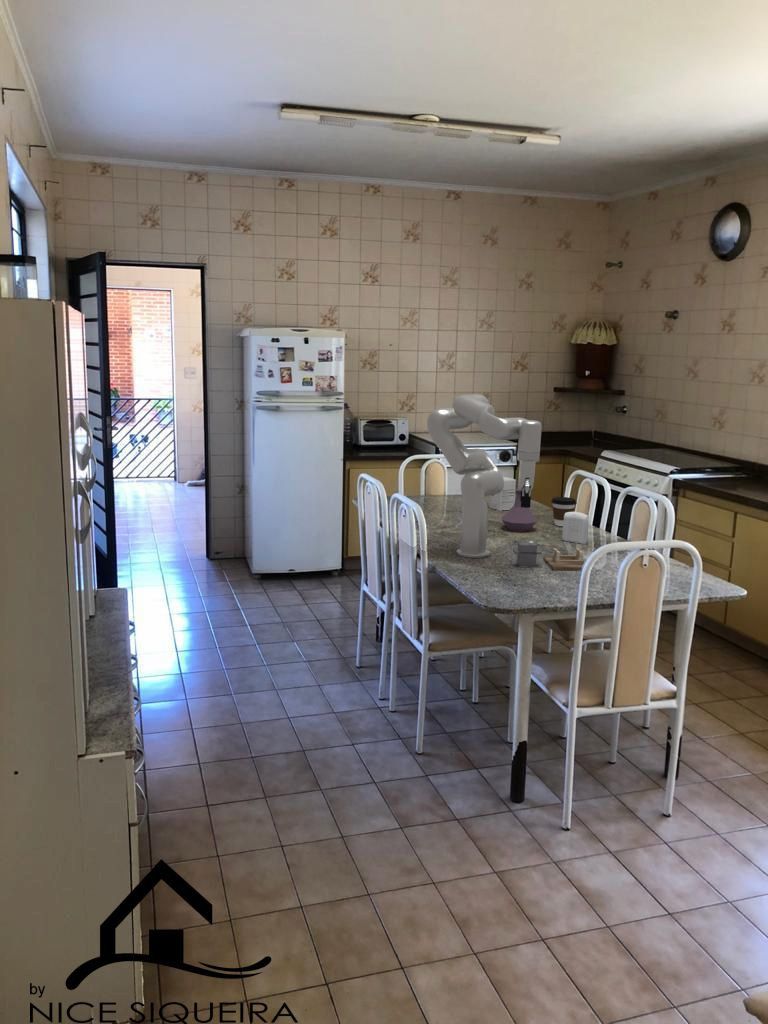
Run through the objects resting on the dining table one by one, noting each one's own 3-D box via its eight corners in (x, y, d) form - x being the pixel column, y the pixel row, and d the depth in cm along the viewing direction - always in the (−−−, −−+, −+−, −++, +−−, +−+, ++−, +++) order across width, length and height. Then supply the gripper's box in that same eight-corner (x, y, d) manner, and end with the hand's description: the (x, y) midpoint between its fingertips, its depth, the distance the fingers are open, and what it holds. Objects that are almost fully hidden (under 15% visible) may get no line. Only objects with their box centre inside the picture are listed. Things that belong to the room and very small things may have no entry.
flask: (507, 534, 342) (509, 487, 338) (494, 525, 358) (496, 480, 354) (544, 533, 346) (547, 486, 341) (529, 524, 361) (532, 480, 357)
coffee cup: (568, 529, 352) (570, 502, 350) (545, 525, 359) (547, 499, 356) (579, 525, 361) (580, 498, 359) (556, 521, 367) (558, 495, 365)
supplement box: (488, 508, 395) (490, 477, 392) (503, 506, 399) (505, 476, 396) (499, 511, 387) (501, 480, 384) (514, 510, 391) (516, 479, 388)
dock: (543, 559, 303) (544, 545, 302) (580, 560, 304) (581, 545, 303) (553, 570, 289) (554, 555, 288) (591, 570, 290) (593, 555, 289)
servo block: (512, 563, 297) (513, 540, 295) (538, 563, 298) (539, 540, 296) (514, 566, 293) (515, 542, 291) (540, 566, 294) (542, 543, 292)
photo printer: (588, 542, 330) (590, 512, 328) (584, 544, 327) (587, 514, 324) (564, 538, 336) (566, 509, 333) (560, 540, 333) (562, 511, 330)
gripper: (517, 452, 291) (513, 499, 294) (517, 459, 274) (514, 509, 278) (538, 453, 290) (534, 500, 293) (540, 460, 273) (536, 510, 277)
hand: (525, 504), depth 286 cm, fingers open, 9 cm apart
